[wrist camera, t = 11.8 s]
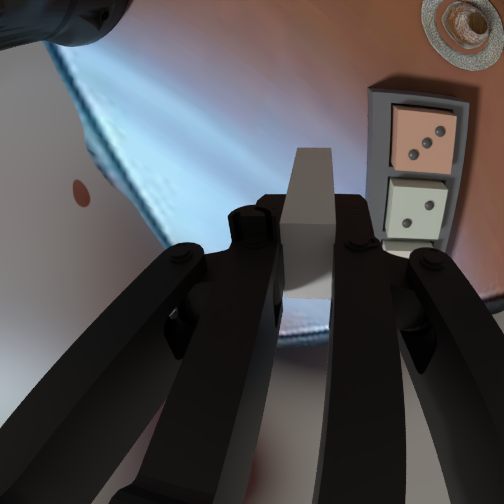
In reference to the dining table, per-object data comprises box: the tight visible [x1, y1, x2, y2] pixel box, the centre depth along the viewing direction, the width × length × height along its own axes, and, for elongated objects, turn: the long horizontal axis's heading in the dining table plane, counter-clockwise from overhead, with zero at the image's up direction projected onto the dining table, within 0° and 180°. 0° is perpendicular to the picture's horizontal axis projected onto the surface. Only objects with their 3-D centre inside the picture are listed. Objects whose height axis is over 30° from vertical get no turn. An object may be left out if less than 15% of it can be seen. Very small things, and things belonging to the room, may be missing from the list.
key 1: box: [381, 239, 433, 259], centre depth 42 cm, size 7×7×4 cm
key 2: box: [383, 176, 448, 239], centre depth 37 cm, size 7×7×4 cm
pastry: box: [421, 0, 504, 71], centre depth 23 cm, size 12×12×5 cm
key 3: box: [389, 103, 457, 174], centre depth 32 cm, size 7×7×4 cm
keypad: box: [365, 88, 469, 253], centre depth 38 cm, size 12×28×4 cm, turn 6°
